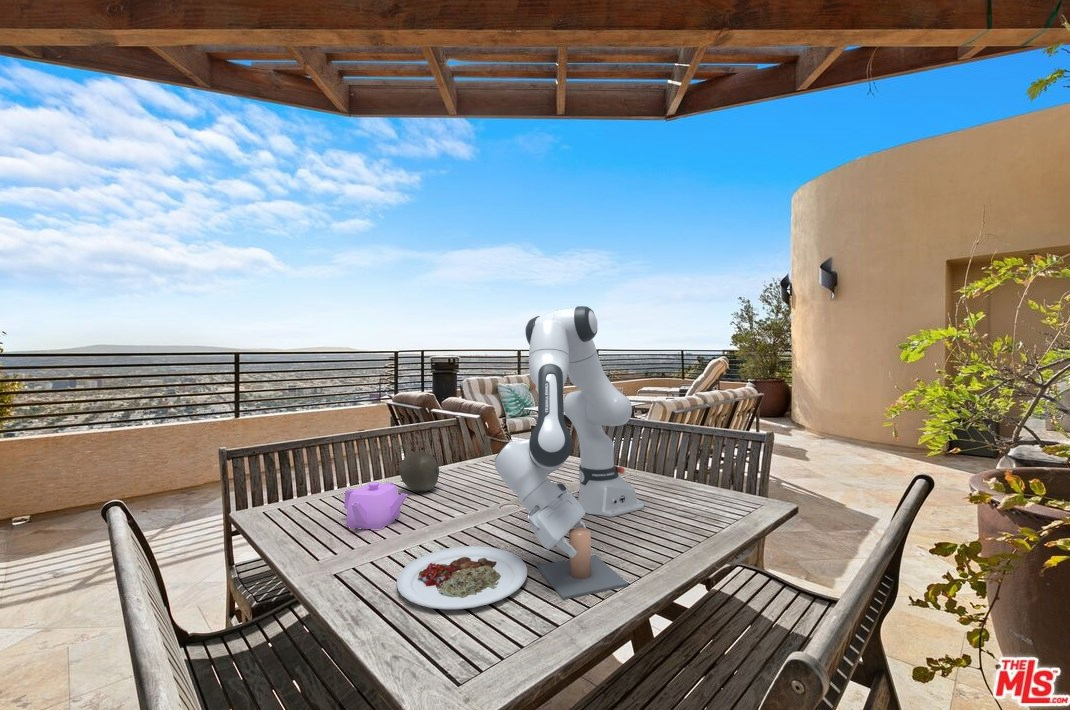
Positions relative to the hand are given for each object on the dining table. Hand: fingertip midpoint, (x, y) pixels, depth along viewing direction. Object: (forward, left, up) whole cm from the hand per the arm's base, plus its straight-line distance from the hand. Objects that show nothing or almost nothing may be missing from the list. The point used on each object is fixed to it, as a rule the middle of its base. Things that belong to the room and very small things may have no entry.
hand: (582, 547), depth 113 cm
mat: (0, 0, -7) cm, 7 cm away
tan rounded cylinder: (0, 0, -6) cm, 6 cm away
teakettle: (+44, -56, -7) cm, 72 cm away
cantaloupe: (+27, -83, -7) cm, 88 cm away
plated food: (+26, -9, -8) cm, 29 cm away
